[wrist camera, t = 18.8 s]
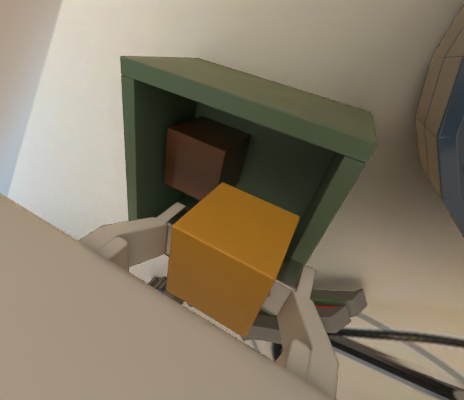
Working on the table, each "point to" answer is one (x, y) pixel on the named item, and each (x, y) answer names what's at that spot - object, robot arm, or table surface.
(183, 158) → the walnut block
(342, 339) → the table surface
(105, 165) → the table surface
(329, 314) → the block letters
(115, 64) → the table surface
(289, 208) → the bin
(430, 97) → the bowl
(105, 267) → the robot arm
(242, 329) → the mustard block
